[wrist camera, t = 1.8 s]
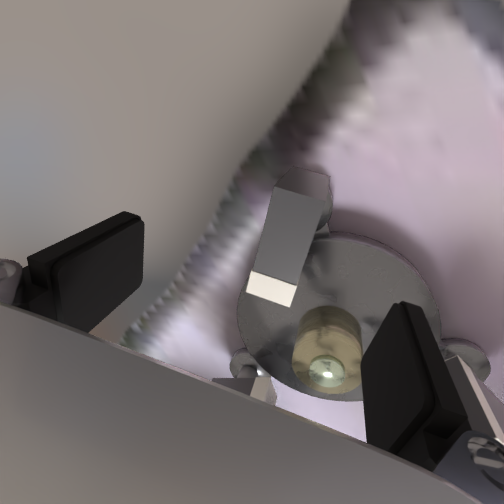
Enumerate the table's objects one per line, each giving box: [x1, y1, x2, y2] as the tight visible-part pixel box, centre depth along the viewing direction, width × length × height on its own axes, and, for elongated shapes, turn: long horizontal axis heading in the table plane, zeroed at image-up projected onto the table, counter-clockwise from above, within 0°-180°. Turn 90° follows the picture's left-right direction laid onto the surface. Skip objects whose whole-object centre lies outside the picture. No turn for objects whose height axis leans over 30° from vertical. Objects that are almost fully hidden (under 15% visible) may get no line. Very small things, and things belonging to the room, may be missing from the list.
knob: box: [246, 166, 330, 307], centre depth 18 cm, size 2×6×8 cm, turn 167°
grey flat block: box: [445, 355, 504, 445], centre depth 20 cm, size 2×6×8 cm, turn 47°
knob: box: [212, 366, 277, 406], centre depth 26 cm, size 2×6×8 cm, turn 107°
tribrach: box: [230, 187, 491, 401], centre depth 22 cm, size 21×23×7 cm
